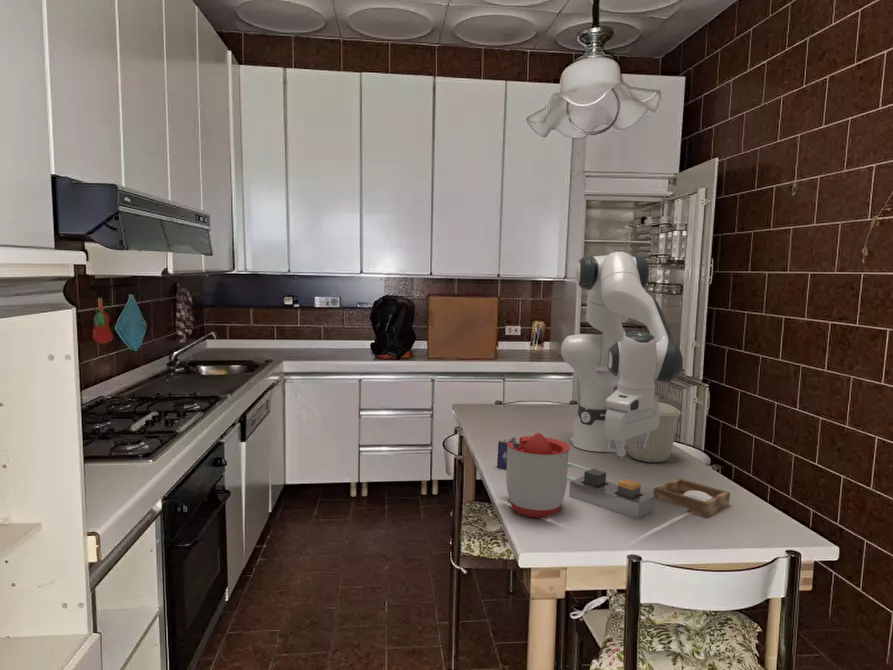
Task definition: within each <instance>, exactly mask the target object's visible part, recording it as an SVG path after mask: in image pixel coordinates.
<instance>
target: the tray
mask: <svg viewBox="0 0 893 670" xmlns="http://www.w3.org/2000/svg"><path fill="white" fill-rule="evenodd" d="M569 467H571V468H573V469H577V470H580V471H583V472H585V471H588V470H591V469H592V468H589V467H587V466H582V465H579V464H576V463H573V462H569V461H568V468H569ZM575 479H576V477H572V476H568V475H567V482H568V481H569V482H570V481H572V480H575Z"/></svg>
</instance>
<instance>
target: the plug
mask: <svg viewBox="0 0 893 670" xmlns="http://www.w3.org/2000/svg"><path fill="white" fill-rule="evenodd" d="M641 484H642V482H639V481H635V480H633V479H629V478H625V479H622V480H620V481H618V482H617V485H618V492H617V495H620V496H623V497H626V498H629V499H632V500H633V499H635V498H638V497H640V492H641V489H642V487H641Z"/></svg>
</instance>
